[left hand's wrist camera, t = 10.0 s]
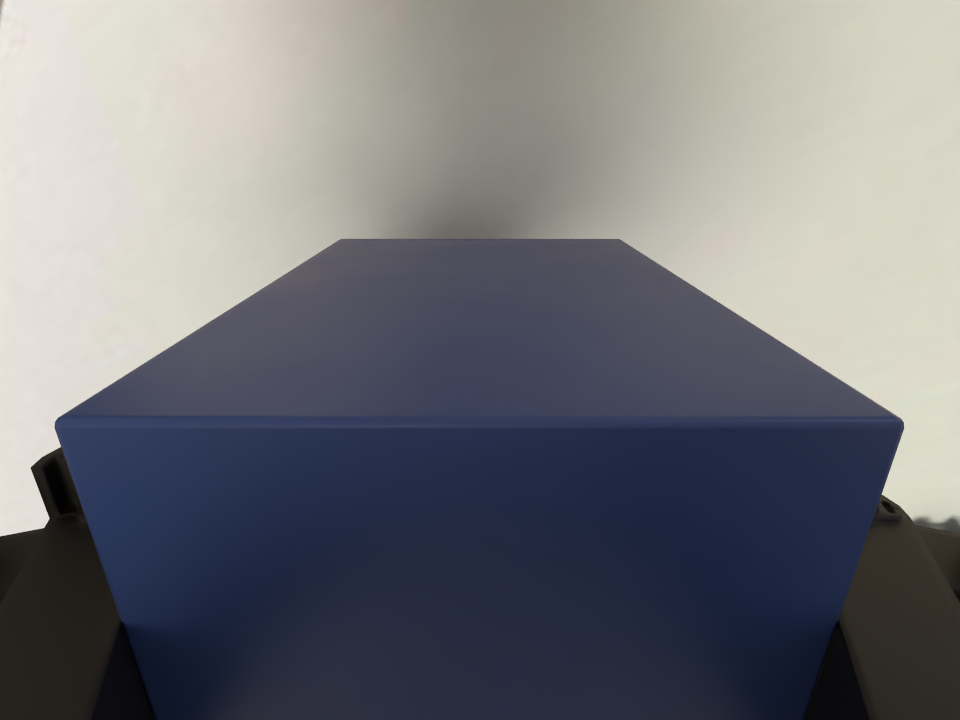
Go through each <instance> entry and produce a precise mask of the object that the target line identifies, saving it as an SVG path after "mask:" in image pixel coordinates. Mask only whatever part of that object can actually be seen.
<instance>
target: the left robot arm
mask: <svg viewBox="0 0 960 720" xmlns="http://www.w3.org/2000/svg"><path fill="white" fill-rule="evenodd" d="M31 470H32V473H33V475H34V478H35V481H36V483H37V486H38V489H39V491H40V494H41V497H42V499H43V502H44V504H45V507H46V510H47V512H48V515H49V518H50V519H49V521H48V523H47V524H46V526H45V528H43V529H37V530H32V531H27V532H22V533H16V534H11V535H6V536H1V537H0V720H155V718H154V715H153V712H152V709H151V706H150V703H149V701H148V698H147V695H146V692H145V689H144V686H143V683H142V680H141V677H140V674H139V671H138V669H137V666H136V663H135V660H134V657H133V654H132V651H131V648H130V645H129V642H128V639H127V637H126V634H125V631H124V628H123V625H122V622H121V619H120V616H119V613H118V611H117V608H116V605H115V602H114V599H113V596H112V593H111V590H110V587H109V584H108V581H107V578H106V576H105V573H104V570H103V567H102V564H101V561H100V558H99V555H98V552H97V549H96V546H95V544H94V541H93V538H92V535H91V532H90V529H89V526H88V523H87V520H86V517H85V514H84V511H83V509H82V506H81V503H80V500H79V497H78V494H77V491H76V488H75V485H74V482H73V479H72V476H71V474H70V471H69V468H68V465H67V462H66V459H65V456H64V453H63V450H62V447H60V448H58V449H57V450H55V451H53V452H51V453H49V454H47V455H45V456H44V457H42V458H41V459H40V460H39V461H38V462H36V463H35V464H34V465H33V466H32V467H31ZM804 720H960V534H957V533H952V532H947V531H941V530H936V529H931V528H926V527H920V526H915V525H914V523H913V522H912V520H911V518H910V517H909V516H908V515H907V514H906V513H905V512H904V510H903V509H902V508H901V507H900V506H899V505H897V504H895V503H894V502H892V501H891V500H889V499H888V498H886V497H885V496H883V495H881V497H880V500H879V503H878V506H877V509H876V512H875V515H874V517H873V520H872V523H871V526H870V529H869V532H868V535H867V538H866V541H865V544H864V547H863V550H862V552H861V555H860V558H859V561H858V564H857V567H856V570H855V573H854V576H853V579H852V582H851V585H850V588H849V590H848V593H847V596H846V599H845V602H844V605H843V608H842V611H841V614H840V617H839V620H838V623H837V625H836V628H835V631H834V634H833V637H832V640H831V643H830V646H829V649H828V652H827V655H826V658H825V661H824V663H823V666H822V669H821V672H820V675H819V678H818V681H817V684H816V687H815V690H814V693H813V696H812V698H811V701H810V704H809V707H808V710H807V713H806V716H805V719H804Z"/></svg>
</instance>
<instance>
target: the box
mask: <svg viewBox="0 0 960 720" xmlns="http://www.w3.org/2000/svg"><path fill="white" fill-rule="evenodd" d="M55 430H56V433H57V436H58V439H59V441H60V444H61V447H62V450H63V453H64V456H65V459H66V462H67V465H68V468H69V471H70V474H71V476H72V479H73V482H74V485H75V488H76V491H77V494H78V497H79V500H80V503H81V506H82V509H83V511H84V514H85V517H86V520H87V523H88V526H89V529H90V532H91V535H92V538H93V541H94V544H95V546H96V549H97V552H98V555H99V558H100V561H101V564H102V567H103V570H104V573H105V576H106V578H107V581H108V584H109V587H110V590H111V593H112V596H113V599H114V602H115V605H116V608H117V611H118V613H119V616H120V619H121V622H122V625H123V628H124V631H125V634H126V637H127V639H128V642H129V645H130V648H131V651H132V654H133V657H134V660H135V663H136V666H137V669H138V671H139V674H140V677H141V680H142V683H143V686H144V689H145V692H146V695H147V698H148V701H149V703H150V706H151V709H152V712H153V715H154V718H155V720H804V719H805V716H806V713H807V710H808V707H809V704H810V701H811V698H812V696H813V693H814V690H815V687H816V684H817V681H818V678H819V675H820V672H821V669H822V666H823V663H824V661H825V658H826V655H827V652H828V649H829V646H830V643H831V640H832V637H833V634H834V631H835V628H836V625H837V623H838V620H839V617H840V614H841V611H842V608H843V605H844V602H845V599H846V596H847V593H848V590H849V588H850V585H851V582H852V579H853V576H854V573H855V570H856V567H857V564H858V561H859V558H860V555H861V552H862V550H863V547H864V544H865V541H866V538H867V535H868V532H869V529H870V526H871V523H872V520H873V517H874V515H875V512H876V509H877V506H878V503H879V500H880V497H881V494H882V491H883V488H884V485H885V482H886V479H887V477H888V474H889V471H890V468H891V465H892V462H893V459H894V456H895V453H896V450H897V447H898V444H899V442H900V439H901V436H902V433H903V430H904V422H903V421H902V419H901V418H899V417H898V416H896V415H894V414H893V413H891V412H890V411H888V410H887V409H885V408H884V407H882V406H880V405H879V404H877V403H876V402H874V401H873V400H871V399H869V398H868V397H866V396H865V395H863V394H862V393H860V392H858V391H857V390H855V389H854V388H852V387H851V386H849V385H847V384H846V383H844V382H843V381H841V380H840V379H838V378H836V377H835V376H833V375H832V374H830V373H829V372H827V371H825V370H824V369H822V368H821V367H819V366H818V365H816V364H814V363H813V362H811V361H810V360H808V359H807V358H805V357H803V356H802V355H800V354H799V353H797V352H796V351H794V350H792V349H791V348H789V347H788V346H786V345H785V344H783V343H782V342H780V341H778V340H777V339H775V338H774V337H772V336H771V335H769V334H767V333H766V332H764V331H763V330H761V329H760V328H758V327H756V326H755V325H753V324H752V323H750V322H749V321H747V320H745V319H744V318H742V317H741V316H739V315H738V314H736V313H734V312H733V311H731V310H730V309H728V308H727V307H725V306H723V305H722V304H720V303H719V302H717V301H716V300H714V299H712V298H711V297H709V296H708V295H706V294H705V293H703V292H701V291H700V290H698V289H697V288H695V287H694V286H692V285H690V284H689V283H687V282H686V281H684V280H683V279H681V278H679V277H678V276H676V275H675V274H673V273H672V272H670V271H669V270H667V269H665V268H664V267H662V266H661V265H659V264H658V263H656V262H654V261H653V260H651V259H650V258H648V257H647V256H645V255H643V254H642V253H640V252H639V251H637V250H636V249H634V248H632V247H631V246H629V245H628V244H626V243H625V242H623V241H621V240H619V239H341V240H339V241H337V242H336V243H334V244H332V245H331V246H329V247H328V248H326V249H324V250H323V251H321V252H320V253H318V254H317V255H315V256H313V257H312V258H310V259H309V260H307V261H306V262H304V263H302V264H301V265H299V266H298V267H296V268H294V269H293V270H291V271H290V272H288V273H287V274H285V275H283V276H282V277H280V278H279V279H277V280H275V281H274V282H272V283H271V284H269V285H268V286H266V287H264V288H263V289H261V290H260V291H258V292H257V293H255V294H253V295H252V296H250V297H249V298H247V299H245V300H244V301H242V302H241V303H239V304H238V305H236V306H234V307H233V308H231V309H230V310H228V311H226V312H225V313H223V314H222V315H220V316H219V317H217V318H215V319H214V320H212V321H211V322H209V323H207V324H206V325H204V326H203V327H201V328H200V329H198V330H196V331H195V332H193V333H192V334H190V335H189V336H187V337H185V338H184V339H182V340H181V341H179V342H177V343H176V344H174V345H173V346H171V347H170V348H168V349H166V350H165V351H163V352H162V353H160V354H158V355H157V356H155V357H154V358H152V359H151V360H149V361H147V362H146V363H144V364H143V365H141V366H140V367H138V368H136V369H135V370H133V371H132V372H130V373H128V374H127V375H125V376H124V377H122V378H121V379H119V380H117V381H116V382H114V383H113V384H111V385H109V386H108V387H106V388H105V389H103V390H102V391H100V392H98V393H97V394H95V395H94V396H92V397H90V398H89V399H87V400H86V401H84V402H83V403H81V404H79V405H78V406H76V407H75V408H73V409H72V410H70V411H68V412H67V413H65V414H64V415H62V416H60V417H59V418H58V419H57V420H56V422H55Z"/></svg>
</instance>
